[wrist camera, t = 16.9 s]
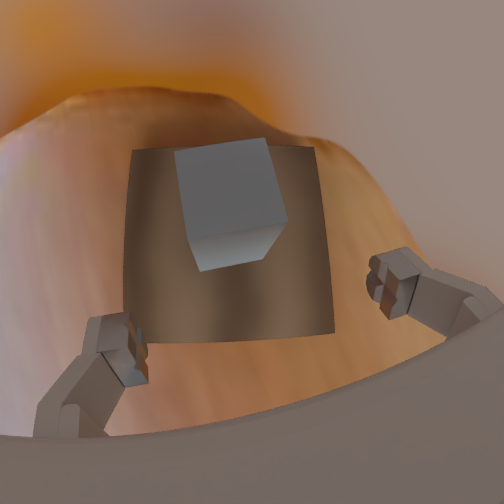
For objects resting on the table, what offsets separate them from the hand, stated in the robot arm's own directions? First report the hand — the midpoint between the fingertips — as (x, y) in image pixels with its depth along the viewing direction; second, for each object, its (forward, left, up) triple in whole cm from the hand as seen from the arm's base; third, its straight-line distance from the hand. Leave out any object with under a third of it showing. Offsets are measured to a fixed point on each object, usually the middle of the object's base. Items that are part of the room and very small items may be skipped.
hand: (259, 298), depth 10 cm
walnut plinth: (-1, +5, -13) cm, 14 cm away
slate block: (-1, +5, -10) cm, 11 cm away
